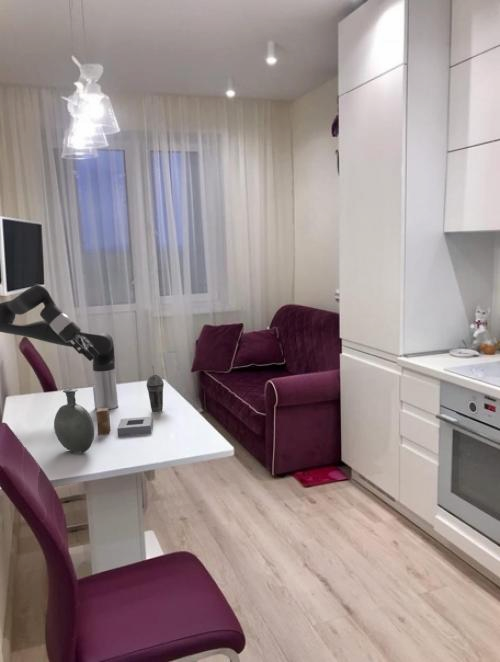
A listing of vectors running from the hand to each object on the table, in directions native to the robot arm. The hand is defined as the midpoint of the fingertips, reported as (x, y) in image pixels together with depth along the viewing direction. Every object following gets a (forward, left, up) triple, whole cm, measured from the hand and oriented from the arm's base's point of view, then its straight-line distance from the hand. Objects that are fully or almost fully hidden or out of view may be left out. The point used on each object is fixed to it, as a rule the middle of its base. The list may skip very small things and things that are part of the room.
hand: (95, 357), depth 204 cm
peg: (+7, -8, -27) cm, 29 cm away
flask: (+12, -28, -27) cm, 41 cm away
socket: (+17, -2, -27) cm, 32 cm away
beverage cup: (+11, +22, -27) cm, 37 cm away
